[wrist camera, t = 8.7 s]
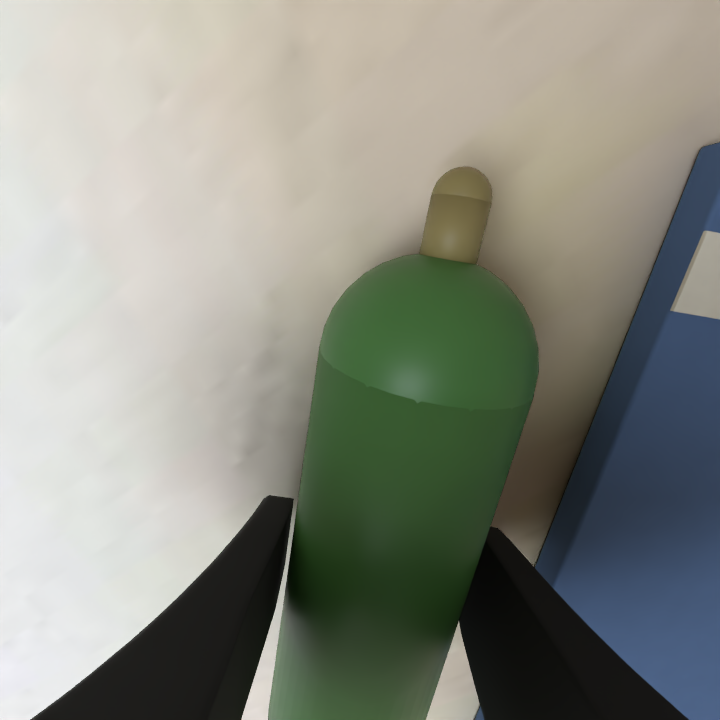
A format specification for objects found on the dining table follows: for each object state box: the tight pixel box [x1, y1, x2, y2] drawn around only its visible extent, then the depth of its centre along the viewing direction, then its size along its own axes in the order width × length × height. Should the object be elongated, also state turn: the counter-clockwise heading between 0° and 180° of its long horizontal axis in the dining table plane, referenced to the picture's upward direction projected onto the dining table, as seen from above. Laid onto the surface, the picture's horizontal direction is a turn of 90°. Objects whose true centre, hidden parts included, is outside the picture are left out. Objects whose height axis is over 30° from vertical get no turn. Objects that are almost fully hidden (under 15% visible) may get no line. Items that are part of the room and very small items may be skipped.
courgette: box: [268, 167, 539, 720], centre depth 9 cm, size 15×4×4 cm, turn 170°
